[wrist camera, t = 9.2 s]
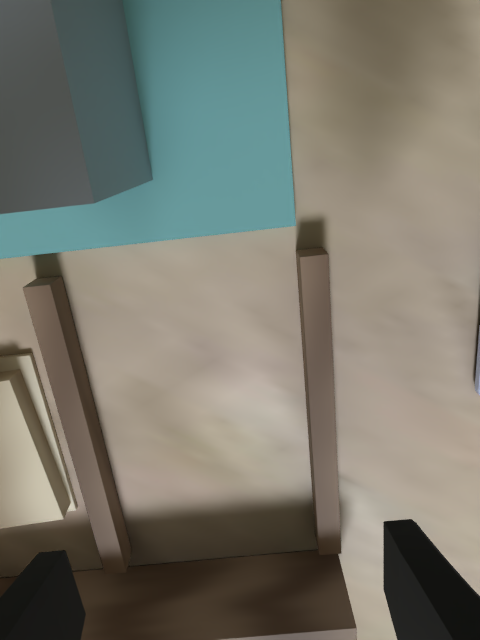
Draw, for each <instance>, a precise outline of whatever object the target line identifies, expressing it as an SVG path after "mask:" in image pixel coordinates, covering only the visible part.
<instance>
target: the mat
mask: <svg viewBox="0 0 480 640" xmlns="http://www.w3.org/2000/svg"><path fill="white" fill-rule="evenodd" d="M122 1H123V7H124V13H125V19H126V25H127V31H128V37H129V43H130V49H131V54H132V60H133V66H134V72H135V78H136V84H137V90H138V96H139V102H140V107H141V113H142V119H143V125H144V131H145V137H146V143H147V149H148V155H149V160H150V166H151V172H152V178H153V180H152V181H149V182H147V183H144V184H142V185H139V186H137V187H134V188H132V189H129V190H127V191H124V192H122V193H119V194H117V195H114V196H112V197H109V198H107V199H104V200H102V201H99V202H97V203H94V204H85V205H76V206H68V207H59V208H50V209H42V210H33V211H24V212H15V213H7V214H0V259H3V258H12V257H21V256H30V255H39V254H48V253H57V252H66V251H74V250H83V249H92V248H101V247H110V246H119V245H128V244H137V243H146V242H155V241H164V240H173V239H182V238H191V237H200V236H209V235H218V234H227V233H236V232H245V231H254V230H263V229H272V228H280V227H289V226H296V222H295V207H294V192H293V177H292V162H291V147H290V133H289V118H288V103H287V88H286V73H285V58H284V43H283V28H282V13H281V0H122Z"/></svg>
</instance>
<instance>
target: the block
mask: <svg viewBox="0 0 480 640" xmlns="http://www.w3.org/2000/svg"><path fill="white" fill-rule="evenodd" d="M152 180H153V178H152V172H151V166H150V160H149V155H148V149H147V143H146V137H145V131H144V125H143V119H142V113H141V107H140V102H139V96H138V90H137V84H136V78H135V72H134V66H133V60H132V54H131V49H130V43H129V37H128V31H127V25H126V19H125V13H124V7H123V1H122V0H0V214H7V213H15V212H24V211H33V210H42V209H50V208H59V207H68V206H76V205H85V204H94V203H97V202H99V201H102V200H104V199H107V198H109V197H112V196H114V195H117V194H119V193H122V192H124V191H127V190H129V189H132V188H134V187H137V186H139V185H142V184H144V183H147V182H149V181H152Z"/></svg>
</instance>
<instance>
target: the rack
mask: <svg viewBox="0 0 480 640" xmlns="http://www.w3.org/2000/svg"><path fill="white" fill-rule="evenodd" d="M296 259H297V273H298V288H299V303H300V317H301V332H302V347H303V361H304V376H305V391H306V406H307V420H308V435H309V450H310V464H311V479H312V494H313V508H314V523H315V536H316V541H317V546H318V550H314V551H302V552H291V553H280V554H268V555H257V556H246V557H234V558H223V559H212V560H201V561H189V562H178V563H167V564H155V565H144V566H133V567H128V564H129V560H130V556H131V552H132V550H131V546H130V542H129V538H128V534H127V530H126V526H125V522H124V518H123V515H122V511H121V507H120V503H119V499H118V495H117V491H116V487H115V483H114V479H113V475H112V471H111V467H110V463H109V460H108V456H107V452H106V448H105V444H104V440H103V436H102V432H101V428H100V424H99V420H98V416H97V412H96V409H95V405H94V401H93V397H92V393H91V389H90V385H89V381H88V377H87V373H86V369H85V365H84V361H83V358H82V354H81V350H80V346H79V342H78V338H77V334H76V330H75V326H74V322H73V318H72V314H71V310H70V307H69V303H68V299H67V295H66V291H65V287H64V283H63V279H62V276H57V277H48V278H39V279H35V280H34V281H32V282H31V283H29V284H27V285H26V286H24V287H23V291H24V294H25V298H26V301H27V305H28V308H29V312H30V315H31V319H32V322H33V326H34V329H35V333H36V336H37V339H38V343H39V346H40V350H41V353H42V357H43V360H44V364H45V367H46V371H47V374H48V378H49V381H50V385H51V388H52V391H53V395H54V398H55V402H56V405H57V409H58V412H59V416H60V419H61V423H62V426H63V430H64V433H65V437H66V440H67V443H68V447H69V450H70V454H71V457H72V461H73V464H74V468H75V471H76V475H77V478H78V482H79V485H80V489H81V492H82V495H83V499H84V502H85V506H86V509H87V513H88V516H89V520H90V523H91V527H92V530H93V534H94V537H95V541H96V544H97V547H98V551H99V554H100V558H101V561H102V565H103V568H104V569H99V570H87V571H76V572H73V576H74V579H75V582H76V585H77V588H78V591H79V594H80V597H81V600H82V604H83V607H84V610H85V613H86V616H85V621H84V626H83V631H82V636H81V640H357V628H356V624H355V620H354V616H353V612H352V608H351V604H350V600H349V596H348V592H347V588H346V584H345V580H344V576H343V572H342V568H341V564H340V560H339V556H338V554H340V553H341V536H340V513H339V490H338V466H337V443H336V420H335V397H334V373H333V350H332V327H331V304H330V280H329V257H328V253H327V252H326V251H325V250H324V249H323V247H321V248H312V249H303V250H296ZM16 579H17V577H8V578H0V597H1V596H2V595H3V594H4V592H5V591H6V590H7V589H8V588H9V587H10V585H11V584H12V583H13V582H14V581H15V580H16Z"/></svg>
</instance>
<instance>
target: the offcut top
mask: <svg viewBox="0 0 480 640" xmlns="http://www.w3.org/2000/svg"><path fill="white" fill-rule="evenodd" d="M70 504H71V502H70V499H69V496H68V494H67V491H66V489H65V486H64V483H63V481H62V478H61V475H60V473H59V470H58V468H57V465H56V462H55V460H54V457H53V454H52V452H51V449H50V447H49V444H48V441H47V439H46V436H45V433H44V431H43V428H42V425H41V423H40V420H39V418H38V415H37V412H36V410H35V407H34V404H33V402H32V399H31V397H30V394H29V391H28V389H27V386H26V383H25V381H24V378H23V376H22V373H21V370H20V369H17V370H11V371H5V372H0V529H1V528H8V527H15V526H21V525H28V524H35V523H41V522H48V521H55V520H61V519H64V517H65V515H66V513H67V510H68V508H69V506H70Z"/></svg>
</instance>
